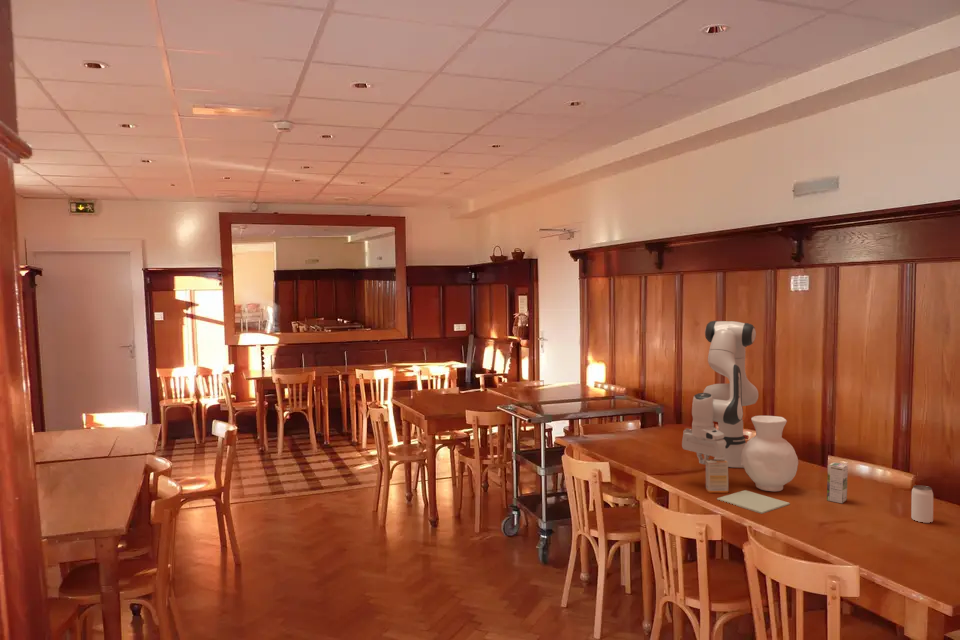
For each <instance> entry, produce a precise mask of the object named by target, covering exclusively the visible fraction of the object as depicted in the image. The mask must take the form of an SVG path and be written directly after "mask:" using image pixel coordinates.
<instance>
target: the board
mask: <svg viewBox="0 0 960 640" xmlns="http://www.w3.org/2000/svg"><path fill="white" fill-rule="evenodd" d="M716 500H717V501H719V500H720V502H723V501H724V502H723V503H726V502H727V504H729V503H730V505H732V504H733V506H735V505H736V507H738V508H739V507H740V508H742V509H746V510H749V511H751V512H755V513H758V514H766V513H768V512H771V511H774V510H777V509H780V508H783V507H786V506H790V504H791V503H790V502H788V501H784V500H780V499H778V498H774V497H772V496H771V497H770V496H766V495H764V494H760V493H757V492H753V491H750V490H747V489H745V490H741V491H737V492H734V493H731V494H726V495H723V496H720V497H717V498H716Z"/></svg>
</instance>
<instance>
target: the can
mask: <svg viewBox="0 0 960 640" xmlns="http://www.w3.org/2000/svg"><path fill="white" fill-rule="evenodd" d="M912 487H913V488H912V489H911V504H910V505H911V507H910V508H911V510H910V511H911V512H910V513H911V516H910V517H911V520H913V521H914V520H915V521H914V522H916V521H918V522H917V523H920V522H923V523H922V524H931V523H933V521H934V492H933V488H932V487H930V486H926V485H922V484H921V485H919V484H917V485H913V486H912ZM930 522H931V523H930Z"/></svg>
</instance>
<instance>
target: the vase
mask: <svg viewBox="0 0 960 640" xmlns="http://www.w3.org/2000/svg"><path fill="white" fill-rule="evenodd" d="M751 422H752V424H753V426H754V429H755V436H753V437H751V438H749V439H748V440H747V441H746V444H745V445H744V448H743V450H742V454H741V457H742V463H743V466H744V468H743V469H744V471H745V473H746V474H747V476H748V477H749V478H750V479H751V481H753V483H755V487H756V488H757V489H759V490H761V491H765V492H781V491H783V489H784V486H785V485H786V484H788V483H790V482H792V481H793V479H794V478H795V476H796V475H797V471H798V466H799V459H798V458H799V457H798V455H797V454H796V451H795V448H794V447H793V445H792V444H791V443H790V442H788V441H787V439H785V438H783V437H782V436H783V431H784V428H785V426H786V424H787V422H788V420H787V419H786V418H785V417H783V416H777V415H776V416H775V415H755V416H752V417H751Z"/></svg>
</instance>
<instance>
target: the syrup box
mask: <svg viewBox="0 0 960 640" xmlns="http://www.w3.org/2000/svg"><path fill="white" fill-rule="evenodd" d="M848 469H849V465H847V464H845V463H840V462H831V463H830V464H828V465H827V478H826V479H827V480H826V481H827V482H826V483H827V489H826V500H827V501H828V502H833V503H839V504H844V503H845V502H846V501H847V500H848V477H849V476H848V475H849V474H848V471H849V470H848Z"/></svg>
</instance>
